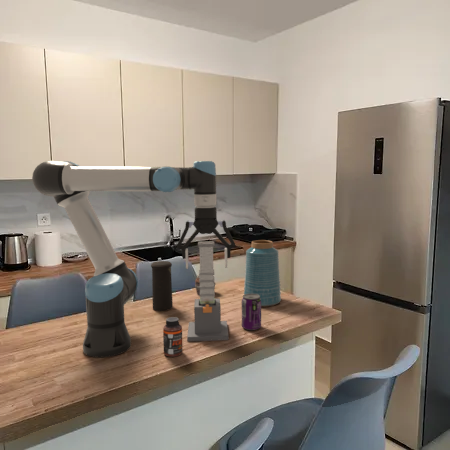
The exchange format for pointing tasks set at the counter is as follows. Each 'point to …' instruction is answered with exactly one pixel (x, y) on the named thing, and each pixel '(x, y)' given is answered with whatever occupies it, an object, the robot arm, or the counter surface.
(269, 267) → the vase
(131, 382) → the counter surface
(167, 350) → the supplement bottle
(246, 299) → the beverage can
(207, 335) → the stand
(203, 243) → the column
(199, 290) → the cupcake
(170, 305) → the container
